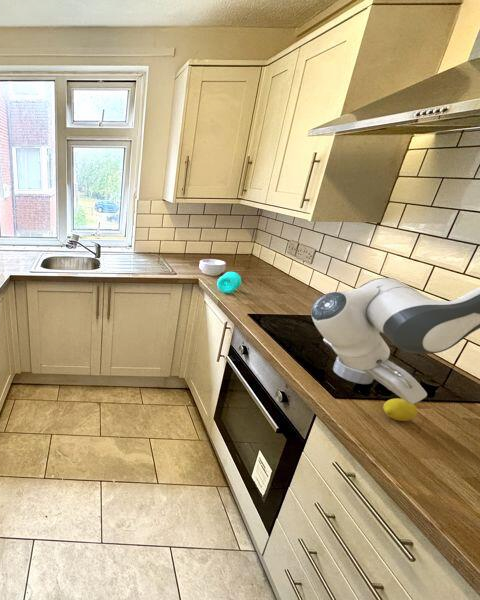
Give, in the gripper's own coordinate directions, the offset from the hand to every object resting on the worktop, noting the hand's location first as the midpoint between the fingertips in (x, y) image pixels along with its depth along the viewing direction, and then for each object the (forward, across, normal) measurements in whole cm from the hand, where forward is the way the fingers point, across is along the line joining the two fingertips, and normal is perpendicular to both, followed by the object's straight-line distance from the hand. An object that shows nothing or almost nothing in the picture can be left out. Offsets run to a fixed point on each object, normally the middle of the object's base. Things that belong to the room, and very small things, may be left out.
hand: (388, 384), depth 75 cm
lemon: (+11, +2, +3) cm, 11 cm away
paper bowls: (+15, +128, +3) cm, 129 cm away
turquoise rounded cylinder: (+13, +97, +5) cm, 98 cm away
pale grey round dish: (+18, +22, 0) cm, 29 cm away
